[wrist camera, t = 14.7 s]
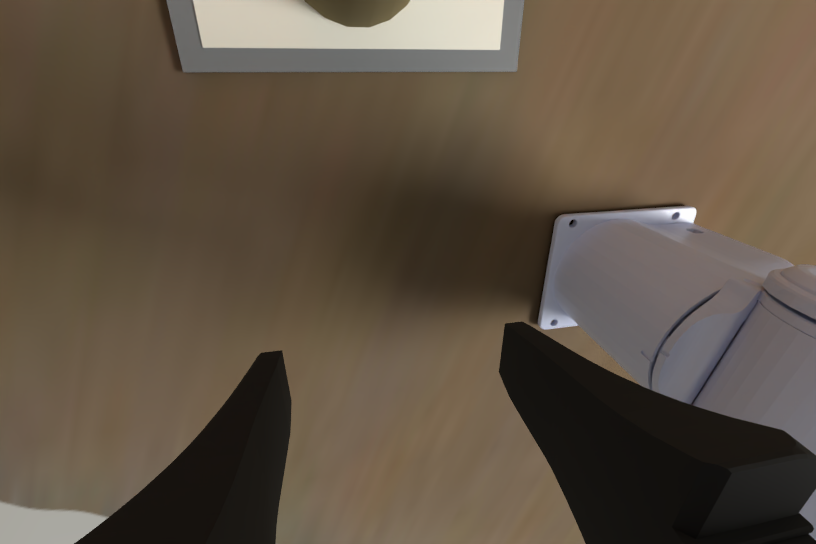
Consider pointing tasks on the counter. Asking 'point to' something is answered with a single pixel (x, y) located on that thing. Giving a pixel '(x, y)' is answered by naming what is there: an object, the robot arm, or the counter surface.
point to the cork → (358, 11)
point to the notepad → (346, 37)
